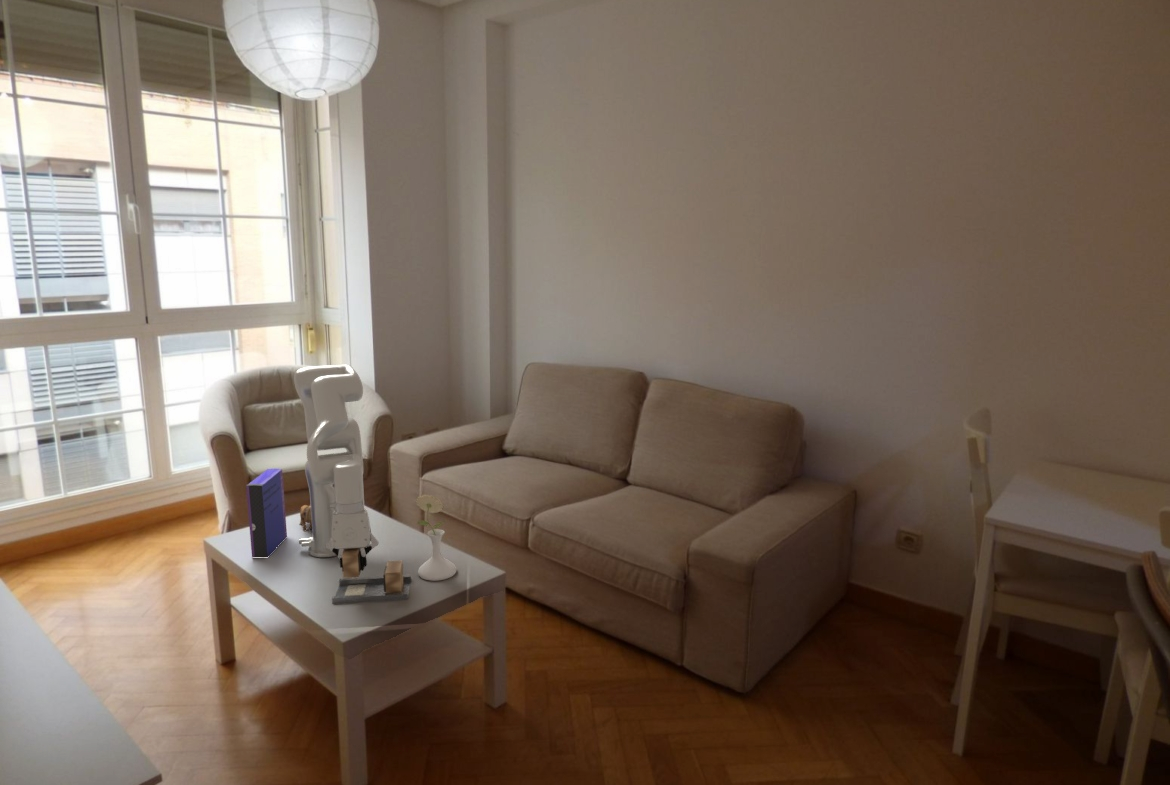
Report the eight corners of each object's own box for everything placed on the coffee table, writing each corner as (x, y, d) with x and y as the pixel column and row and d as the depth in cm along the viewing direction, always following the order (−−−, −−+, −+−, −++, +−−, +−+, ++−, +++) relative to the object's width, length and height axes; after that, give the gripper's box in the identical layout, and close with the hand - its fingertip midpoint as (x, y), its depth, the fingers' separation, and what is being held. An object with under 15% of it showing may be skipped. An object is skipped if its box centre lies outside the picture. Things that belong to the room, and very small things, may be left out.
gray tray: (332, 606, 204) (332, 598, 204) (340, 586, 216) (339, 578, 216) (407, 602, 207) (407, 594, 207) (411, 582, 219) (411, 574, 219)
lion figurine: (321, 531, 258) (319, 506, 257) (305, 534, 255) (303, 509, 254) (308, 518, 270) (306, 494, 268) (293, 521, 267) (291, 497, 265)
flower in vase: (464, 573, 226) (462, 494, 221) (439, 588, 216) (436, 505, 211) (431, 564, 232) (429, 486, 227) (405, 577, 223) (402, 497, 218)
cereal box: (272, 537, 253) (267, 468, 248) (287, 537, 253) (282, 468, 248) (252, 558, 235) (246, 485, 231) (267, 558, 236) (261, 485, 231)
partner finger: (383, 596, 208) (382, 573, 207) (387, 584, 216) (386, 561, 215) (400, 595, 209) (399, 572, 208) (403, 583, 217) (402, 560, 215)
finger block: (343, 577, 205) (342, 553, 204) (348, 566, 213) (346, 542, 212) (359, 577, 206) (358, 552, 205) (363, 565, 214) (362, 541, 212)
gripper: (315, 512, 201) (319, 576, 204) (379, 509, 203) (383, 573, 207) (320, 503, 208) (324, 565, 212) (383, 500, 211) (386, 562, 214)
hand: (353, 568), depth 209 cm, fingers closed on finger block, 4 cm apart
